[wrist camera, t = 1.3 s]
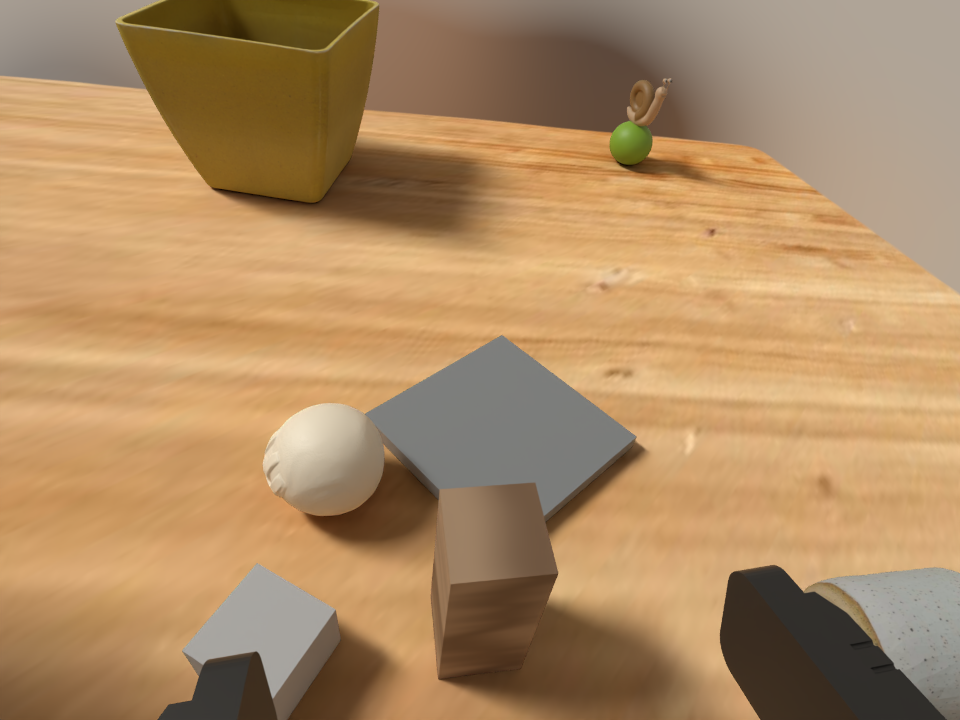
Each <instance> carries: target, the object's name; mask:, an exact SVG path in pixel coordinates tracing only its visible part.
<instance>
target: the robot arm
mask: <svg viewBox="0 0 960 720" xmlns="http://www.w3.org/2000/svg"><path fill="white" fill-rule="evenodd" d="M720 643H721V649H722V653H723V656H724V659H725V662H726V664H727V666H728V668H729V670H730V672H731V674H732V675H733V677H734V679H735V680H736V682H737V683H738V685H739V686H740V688H741V690H742V691H743V693H744V694H745V696H746V698H747V699H748V701H749V702H750V704H751V705H752V707H753V709H754V710H755V712H756V713H757V715H758V717H759V718H760V720H947V719H946V718H945V717H944V716H943V715H942V714H941V713H940V712H939V711H938V710H937V709H936V708H935V706H934V705H933V704H932V703H931V702H930V701H929V700H928V699H927V698H926V697H925V696H924V695H923V694H922V693H921V691H920V690H919V689H918V688H917V687H916V686H915V685H914V684H913V683H912V682H911V681H910V680H909V679H908V678H907V676H906V675H905V674H904V673H903V672H902V671H901V670H900V669H896V668H895V666H894V663H893V661H892V660H891V659H890V658H889V657H888V656H887V655H886V654H885V653H884V652H883V651H882V650H881V649H880V648H879V646H875V645H874V644H873V640H872V639H871V638H870V637H869V636H868V635H867V634H866V633H865V631H864V630H863V629H862V628H861V627H860V626H859V625H858V624H857V623H856V622H855V621H854V620H853V619H852V618H851V616H850V615H849V614H848V613H847V612H845V611H844V610H842V609H841V608H839V607H838V606H836V605H834V604H833V603H831V602H830V601H828V600H827V599H825V598H824V597H822V596H821V595H819V594H818V593H816V592H815V591H814V592H808V593H804V592H803V591H802V590H801V589H800V588H799V586H798V585H797V584H796V583H795V582H794V581H793V580H792V579H791V577H790V576H789V575H788V574H787V573H786V572H785V571H784V570H783V569H782V568H780V567H778V566H776V565H770V566H764V567H759V568H753V569H747V570H741V571H735V572H733V573H731V575H730V577H729V580H728V586H727V592H726V598H725V604H724V611H723V617H722V623H721V630H720ZM158 720H278V719H277V714H276V710H275V706H274V703H273V699H272V695H271V692H270V688H269V685H268V681H267V677H266V674H265V670H264V667H263V663H262V660H261V657H260V654H259V653H258V652H257V651H255V652H249V653H243V654H237V655H231V656H226V657H220V658H214V659H209V660H207V661H206V662H205V663H204V665H203V667H202V669H201V672H200V675H199V678H198V682H197V685H196V688H195V692H194V695H193V698H192V701H186V702H181V703H175V704H170V705H168V706H167V708H166V709H165V710H164V712H163V713H162V714H161V716H160V717H159V719H158Z"/></svg>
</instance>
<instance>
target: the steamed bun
mask: <svg viewBox="0 0 960 720" xmlns="http://www.w3.org/2000/svg"><path fill="white" fill-rule="evenodd" d="M383 468H384V447H383V443H382V439H381V436H380V434H379V432H378V430H377V428H376V426H375V425H374V423H373V422H372V421H371V420H370V419H369V418H368V417H367V416H366V415H365V414H364V413H363V412H361V411H359V410H357V409H355V408H353V407H351V406H348V405H344V404H335V403H324V404H318V405H314V406H311V407H308V408H305V409H303V410H301V411H300V412H298V413H296V414H295V415H293V416H291V417H290V418H289V419H288V420H287V421H286V422H285V423H284V424H283V426H281V428H280V429H279V430H278V431H276V432H275V433H274V434H273V436H272V437H271V439H270V441H269V443H268V445H267V447H266V449H265V457H264V461H263V470H264V473H265V475H266V478H267V482H268V484H269V486H270V488H271V490H272V491H273V493H274V494H275V495H277V496H279V497H282V498H283V499H284V500H285V501H286V502H287V503H289V504H290V505H291V506H293V507H294V508H296V509H298V510H300V511H302V512H305V513H308V514H312V515H317V516H333V515H339V514H343V513H346V512H349V511H352V510H354V509H356V508H358V507H359V506H361V505H362V504H363V503H364V502H365V501H366V500H367V499H369V497H370V496H371V495H372V494H373V493H374V492H375V490H376V488H377V486H378V484H379V482H380V480H381V477H382V474H383Z"/></svg>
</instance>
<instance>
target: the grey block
mask: <svg viewBox="0 0 960 720" xmlns="http://www.w3.org/2000/svg"><path fill="white" fill-rule="evenodd" d="M340 641H341V638H340V632H339V626H338V620H337V615H336V610H335V609H334V608H332V607H330V606H329V605H327V604H325V603H324V602H322V601H320V600H318V599H317V598H315V597H313V596H312V595H310V594H308V593H307V592H305V591H303V590H302V589H300V588H298V587H297V586H295V585H293V584H291V583H290V582H288V581H286V580H285V579H283V578H281V577H280V576H278V575H276V574H275V573H273V572H271V571H270V570H268V569H266V568H264V567H263V566H261V565H259V564H258V563H257V564H256V565H255V566H254V567H253V569H252V570H251V571H250V572H249V573H248V574H247V576H246V577H245V578H244V579H243V580H242V581H241V583H240V584H239V585H238V586H237V587H236V588H235V590H234V591H233V592H232V593H231V594H230V595H229V597H228V598H227V599H226V600H225V601H224V602H223V604H222V605H221V606H220V607H219V608H218V609H217V610H216V612H215V613H214V614H213V615H212V616H211V617H210V619H209V620H208V621H207V622H206V623H205V624H204V626H203V627H202V628H201V629H200V630H199V631H198V633H197V634H196V635H195V636H194V637H193V638H192V640H191V641H190V642H189V643H188V644H187V645H186V647H185V648H184V649H183V650H182V652H183V653H184V655H185V656H186V658H187V659H188V661H189V662H190V664H191V665H192V667H193V668H194V670H195V671H196V673H197V674H198V676H199V675H200V672H201V669H202V667H203V665H204V663H205V662H206V661H207V660H209V659H214V658H220V657H226V656H231V655H237V654H243V653H249V652H255V651H257V652H258V653H259V654H260V657H261V660H262V663H263V667H264V670H265V674H266V677H267V681H268V685H269V688H270V692H271V695H272V699H273V703H274V706H275V710H276V714H277V719H278V720H287V719H288V718H289V716H290V715H291V713H292V712H293V710H294V709H295V707H296V706H297V704H298V703H299V701H300V700H301V699H302V697H303V696H304V694H305V693H306V691H307V690H308V688H309V687H310V685H311V684H312V682H313V681H314V679H315V678H316V676H317V675H318V673H319V672H320V670H321V669H322V667H323V666H324V664H325V663H326V661H327V660H328V658H329V657H330V655H331V654H332V652H333V651H334V649H335V648H336V646H337V645H338V644H339V642H340Z"/></svg>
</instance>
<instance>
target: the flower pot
mask: <svg viewBox="0 0 960 720" xmlns="http://www.w3.org/2000/svg"><path fill="white" fill-rule="evenodd" d="M378 14H379V4H378V3H377V2H374V1H369V0H159V1H157V2H154V3H152V4H150V5H147V6H145V7H142V8H140V9H138V10H136V11H133V12H131V13H128V14H126V15H124V16H122V17H119V18H118V19H116V21H115V22H116V25H117V27H118V30H119V32H120V34H121V37H122V39H123V42H124V44H125V46H126V48H127V50H128V53H129V55H130V56H131V58H132V61H133V63H134V65H135V67H136V69H137V71H138V73H139V75H140V77H141V79H142V81H143V83H144V85H145V86H146V89H147V91H148V92H149V94H150V96H151V98H152V100H153V102H154V103H155V105H156V107H157V109H158V111H159V112H160V114H161V116H162V117H163V119H164V121H165V123H166V124H167V126H168V127H169V129H170V131H171V132H172V134H173V136H174V137H175V139H176V140H177V142H178V143H179V145H180V146H181V148H182V149H183V151H184V152H185V154H186V155H187V157H188V158H189V160H190V161H191V163H192V164H193V165H194V167H195V168H196V170H197V171H198V172H199V174H200V175H201V176H202V178H203V179H204V180H205V182H206V183H207V184H208V185H209V186H211V187H213V188H219V189H225V190H232V191H238V192H244V193H251V194H257V195H263V196H269V197H276V198H282V199H289V200H295V201H302V202H309V203H314V202H318V201H320V200H321V199H322V198H323V197H324V195H325V194H326V192H327V191H328V190H329V188H330V187H331V185H332V184H333V182H334V181H335V180H336V178H337V177H338V175H339V174H340V172H341V171H342V170H343V168H344V167H345V166H346V164H347V163H348V161H349V160H350V159H351V156H352V153H353V150H354V146H355V143H356V139H357V136H358V132H359V128H360V124H361V120H362V116H363V111H364V107H365V102H366V98H367V93H368V88H369V81H370V76H371V70H372V64H373V58H374V51H375V43H376V35H377V25H378Z"/></svg>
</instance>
